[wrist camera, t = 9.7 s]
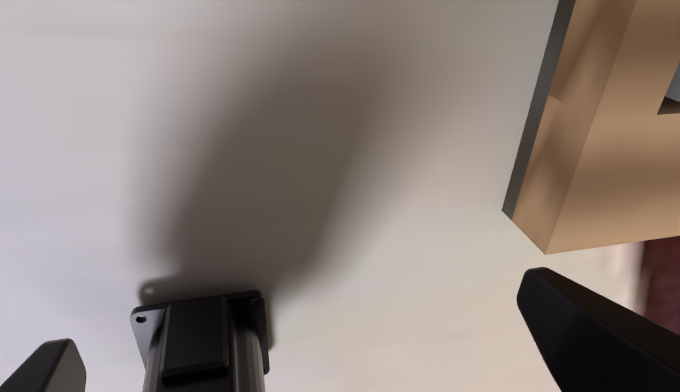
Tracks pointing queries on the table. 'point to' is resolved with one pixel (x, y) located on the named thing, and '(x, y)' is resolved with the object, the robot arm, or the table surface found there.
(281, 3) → the table surface
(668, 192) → the socket block
